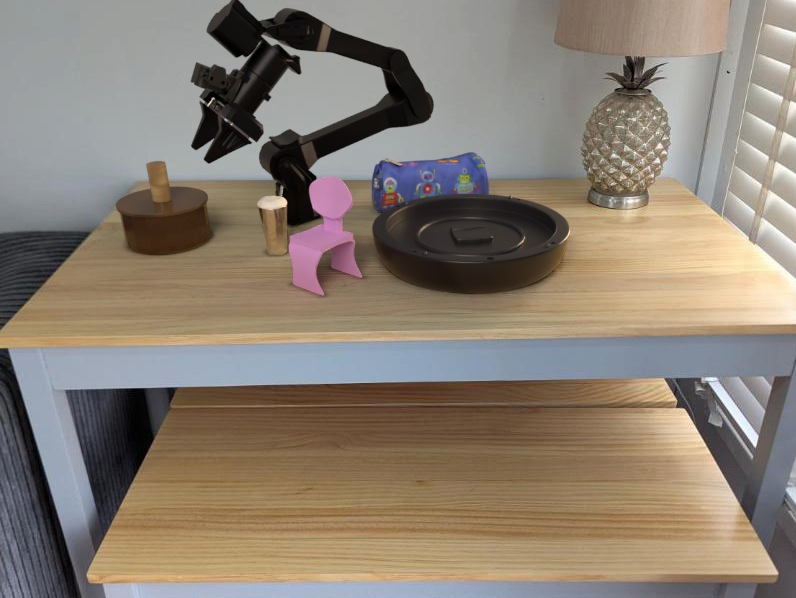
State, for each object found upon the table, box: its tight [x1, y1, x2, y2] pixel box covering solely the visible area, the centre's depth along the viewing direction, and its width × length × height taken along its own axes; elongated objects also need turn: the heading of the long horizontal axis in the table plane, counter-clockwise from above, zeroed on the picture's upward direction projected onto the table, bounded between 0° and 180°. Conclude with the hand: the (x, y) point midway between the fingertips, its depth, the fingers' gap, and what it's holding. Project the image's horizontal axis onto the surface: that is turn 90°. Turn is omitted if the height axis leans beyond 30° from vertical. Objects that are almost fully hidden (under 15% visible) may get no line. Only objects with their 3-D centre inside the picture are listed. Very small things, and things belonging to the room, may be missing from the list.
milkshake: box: [257, 185, 288, 256], centre depth 123 cm, size 5×5×10 cm
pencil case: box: [371, 151, 490, 213], centre depth 140 cm, size 22×9×10 cm, turn 104°
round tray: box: [371, 193, 571, 294], centre depth 120 cm, size 30×6×30 cm
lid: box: [115, 160, 209, 218], centre depth 126 cm, size 15×15×7 cm
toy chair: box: [288, 175, 364, 296], centre depth 110 cm, size 8×9×15 cm
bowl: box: [119, 202, 212, 256], centre depth 129 cm, size 14×14×6 cm
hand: (199, 155), depth 126 cm, fingers open, 9 cm apart
